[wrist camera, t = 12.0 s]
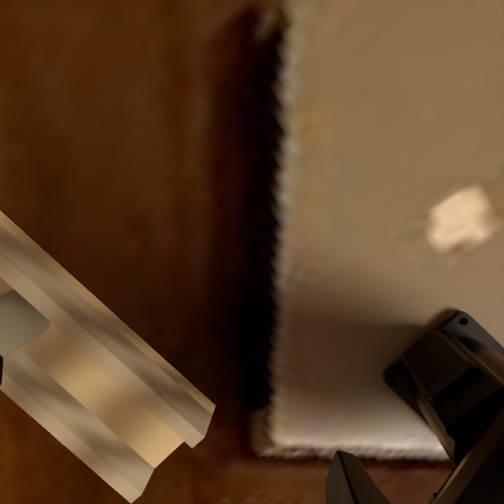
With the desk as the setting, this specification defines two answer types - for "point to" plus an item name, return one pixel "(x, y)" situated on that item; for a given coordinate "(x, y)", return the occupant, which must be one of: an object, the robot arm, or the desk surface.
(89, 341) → the sliding track
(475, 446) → the robot arm
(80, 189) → the desk surface
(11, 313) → the beige piece
